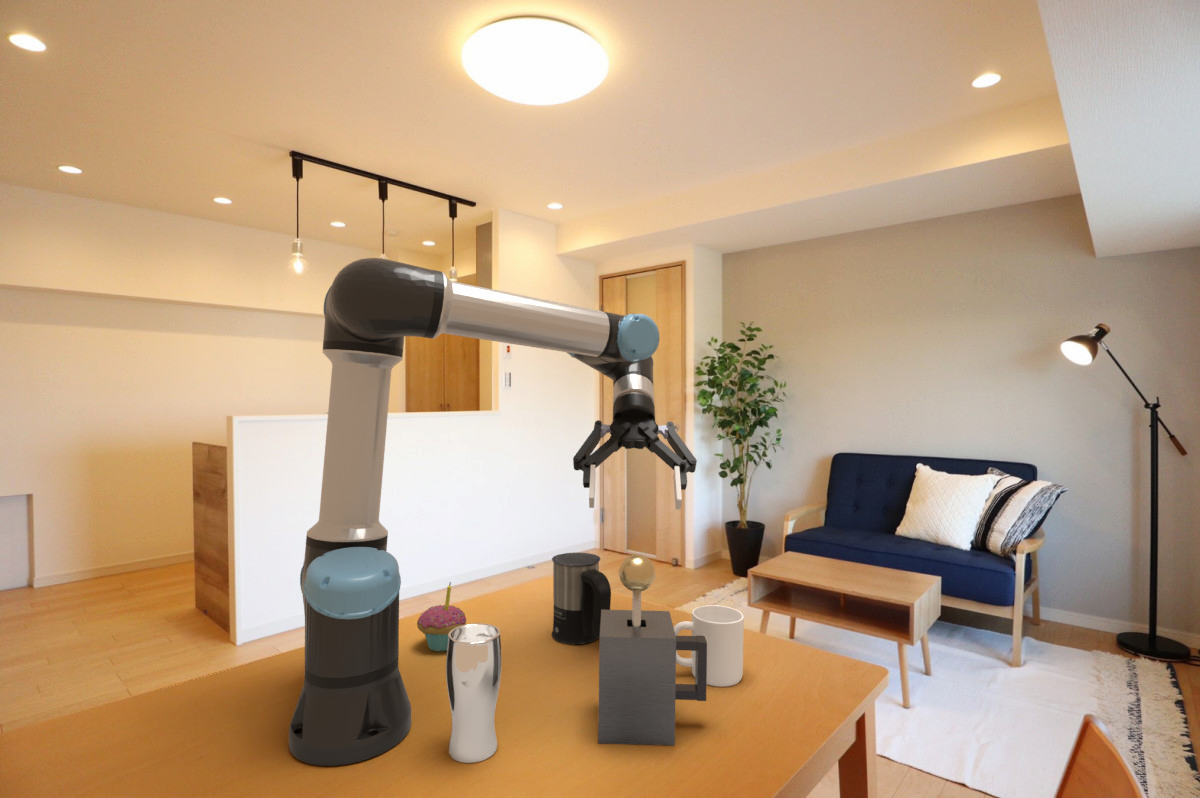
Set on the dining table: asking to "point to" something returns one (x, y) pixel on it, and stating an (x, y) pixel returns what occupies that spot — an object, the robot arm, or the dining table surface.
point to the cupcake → (440, 623)
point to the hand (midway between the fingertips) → (635, 503)
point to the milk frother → (578, 597)
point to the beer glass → (473, 690)
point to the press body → (643, 677)
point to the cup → (717, 643)
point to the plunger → (637, 581)
